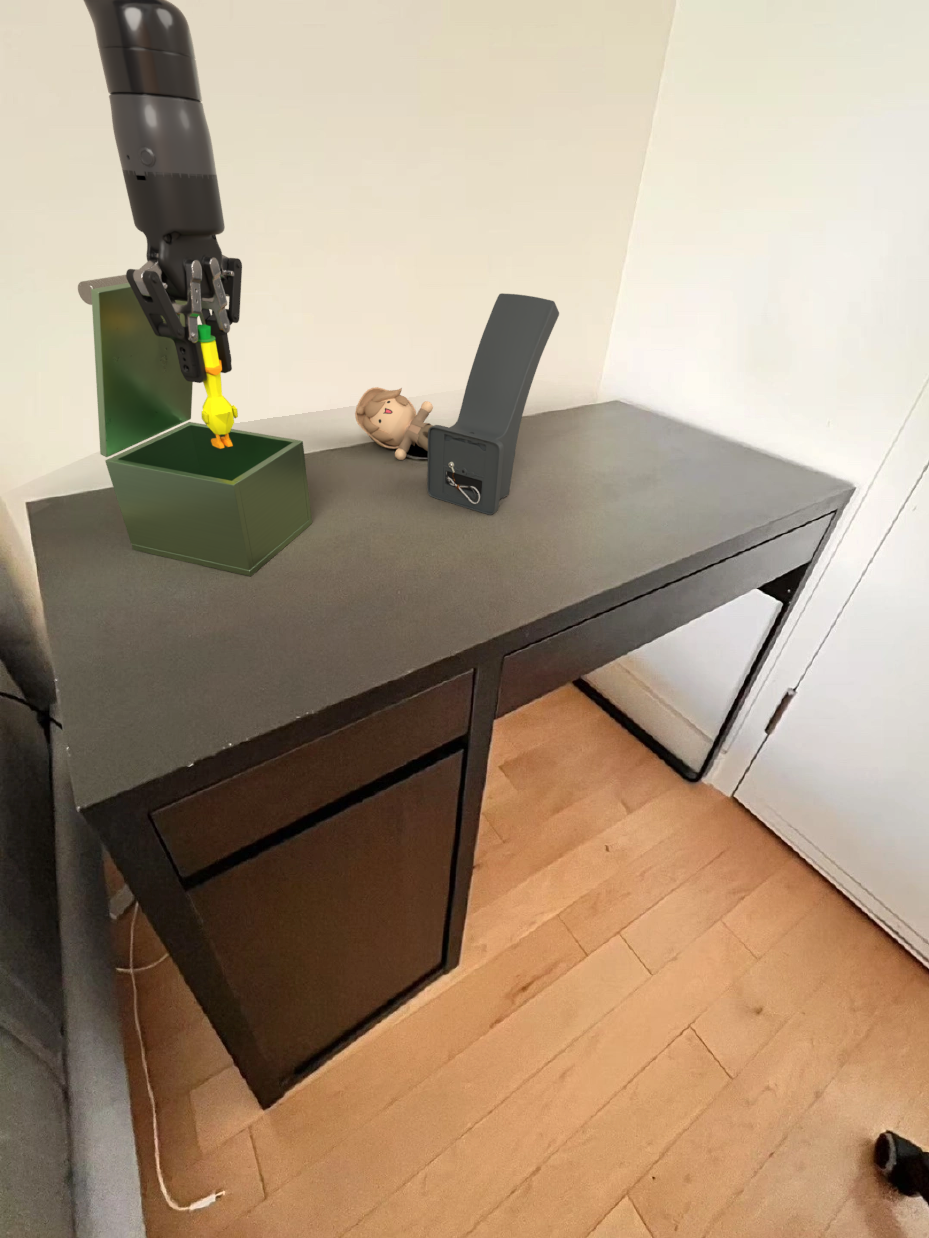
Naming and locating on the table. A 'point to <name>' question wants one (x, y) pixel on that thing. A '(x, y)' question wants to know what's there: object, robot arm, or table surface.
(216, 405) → the toy figure
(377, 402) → the action figure
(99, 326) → the bin lid
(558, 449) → the table surface
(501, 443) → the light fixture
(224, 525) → the bin
